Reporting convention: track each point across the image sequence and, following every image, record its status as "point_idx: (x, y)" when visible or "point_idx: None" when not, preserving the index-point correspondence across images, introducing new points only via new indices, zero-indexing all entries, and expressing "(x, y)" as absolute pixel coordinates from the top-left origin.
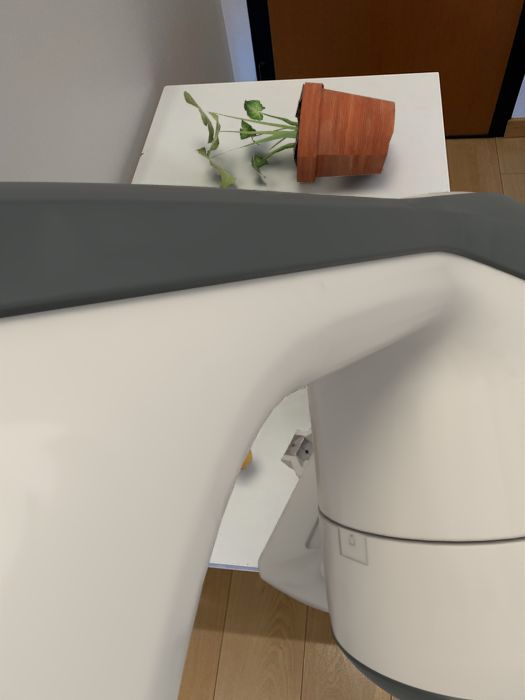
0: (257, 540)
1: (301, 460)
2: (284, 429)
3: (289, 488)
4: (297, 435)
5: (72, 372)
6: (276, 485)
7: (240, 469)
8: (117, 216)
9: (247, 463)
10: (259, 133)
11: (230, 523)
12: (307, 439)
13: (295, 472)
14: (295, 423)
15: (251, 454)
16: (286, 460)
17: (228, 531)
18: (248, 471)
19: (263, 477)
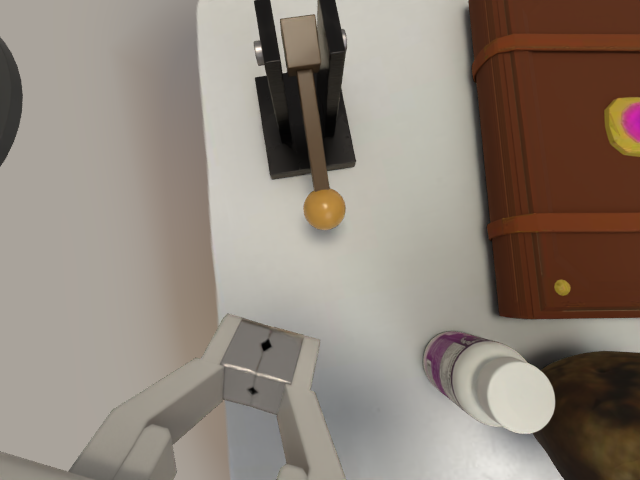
0: (239, 260)
1: (213, 386)
2: (385, 263)
3: (309, 286)
4: (298, 350)
5: None
6: (310, 268)
7: (305, 217)
8: None
9: (314, 225)
10: None
11: (253, 222)
12: (283, 391)
13: (135, 396)
14: (397, 276)
15: (329, 228)
16: (214, 335)
17: (243, 222)
18: None
19: (316, 249)
